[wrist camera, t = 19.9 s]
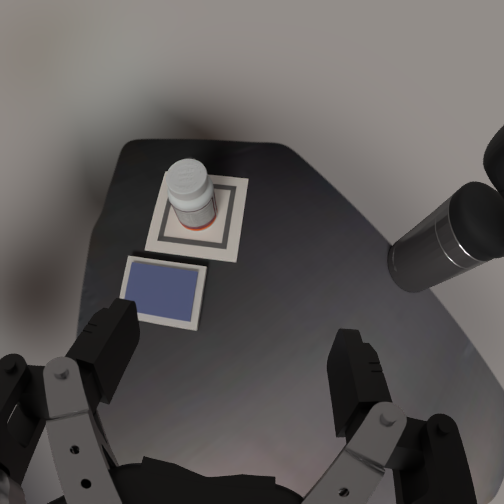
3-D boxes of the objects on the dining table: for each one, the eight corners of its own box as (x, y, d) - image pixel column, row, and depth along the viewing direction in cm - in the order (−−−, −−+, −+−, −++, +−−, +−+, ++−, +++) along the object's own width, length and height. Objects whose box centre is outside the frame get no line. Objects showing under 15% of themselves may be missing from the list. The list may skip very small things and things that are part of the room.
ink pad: (207, 268, 44) (206, 265, 42) (197, 330, 41) (196, 330, 39) (131, 258, 44) (127, 254, 42) (119, 316, 41) (115, 314, 40)
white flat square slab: (248, 179, 49) (248, 178, 48) (236, 262, 44) (236, 261, 44) (165, 171, 49) (165, 170, 48) (145, 250, 44) (144, 249, 44)
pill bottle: (185, 193, 47) (171, 151, 37) (222, 201, 47) (217, 159, 36) (173, 227, 45) (153, 192, 35) (211, 237, 45) (201, 202, 34)
